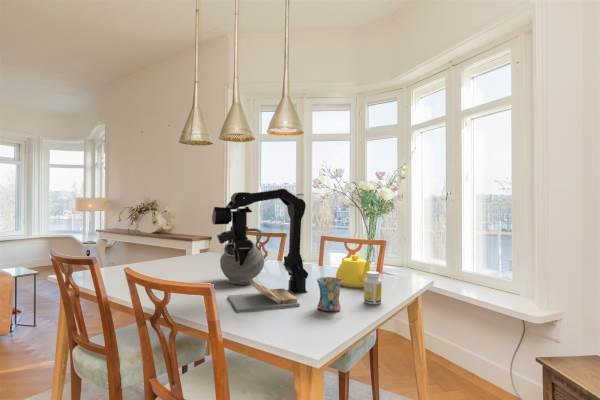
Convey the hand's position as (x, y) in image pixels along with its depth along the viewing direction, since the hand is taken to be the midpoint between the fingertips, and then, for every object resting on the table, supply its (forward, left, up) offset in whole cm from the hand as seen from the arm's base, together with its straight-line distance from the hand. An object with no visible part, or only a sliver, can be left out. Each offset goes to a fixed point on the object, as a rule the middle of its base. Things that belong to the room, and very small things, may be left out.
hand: (239, 263), depth 137 cm
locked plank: (-16, +8, -14) cm, 22 cm away
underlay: (-8, +8, -14) cm, 18 cm away
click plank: (-8, +8, -10) cm, 15 cm away
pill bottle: (-48, +21, -14) cm, 54 cm away
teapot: (-57, -7, -14) cm, 59 cm away
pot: (-7, -27, -14) cm, 31 cm away
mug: (-28, +25, -14) cm, 40 cm away
